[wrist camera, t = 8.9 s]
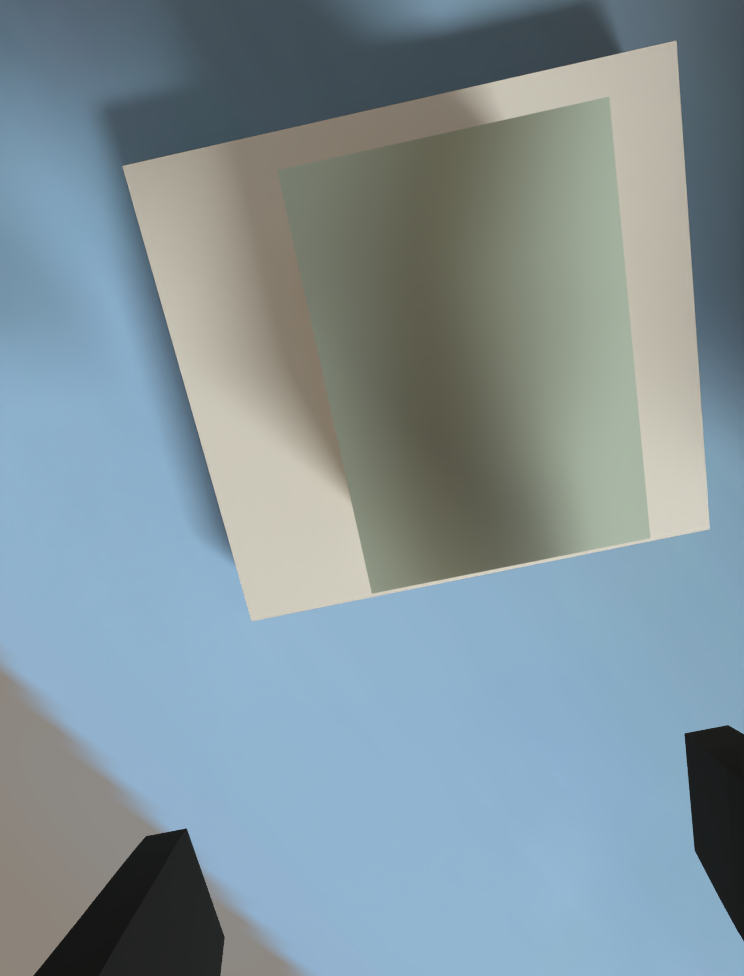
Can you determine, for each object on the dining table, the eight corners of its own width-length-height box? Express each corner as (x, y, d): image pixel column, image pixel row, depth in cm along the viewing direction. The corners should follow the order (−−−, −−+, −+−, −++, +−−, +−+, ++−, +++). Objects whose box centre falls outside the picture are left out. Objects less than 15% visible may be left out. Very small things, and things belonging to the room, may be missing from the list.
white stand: (634, 78, 15) (676, 40, 13) (670, 507, 17) (709, 528, 15) (152, 187, 15) (122, 166, 13) (263, 589, 18) (251, 621, 16)
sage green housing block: (526, 173, 13) (609, 96, 9) (565, 477, 15) (650, 538, 11) (303, 222, 13) (276, 170, 9) (368, 517, 15) (372, 593, 11)
